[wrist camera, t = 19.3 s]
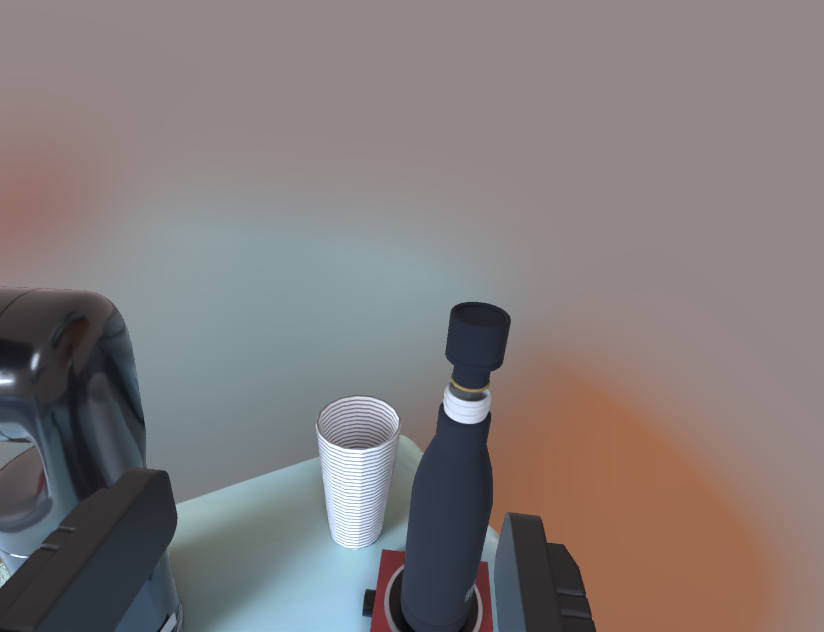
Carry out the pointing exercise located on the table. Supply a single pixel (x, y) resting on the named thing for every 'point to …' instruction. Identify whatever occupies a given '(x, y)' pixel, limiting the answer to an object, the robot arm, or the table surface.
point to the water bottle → (454, 479)
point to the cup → (357, 466)
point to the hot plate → (385, 600)
